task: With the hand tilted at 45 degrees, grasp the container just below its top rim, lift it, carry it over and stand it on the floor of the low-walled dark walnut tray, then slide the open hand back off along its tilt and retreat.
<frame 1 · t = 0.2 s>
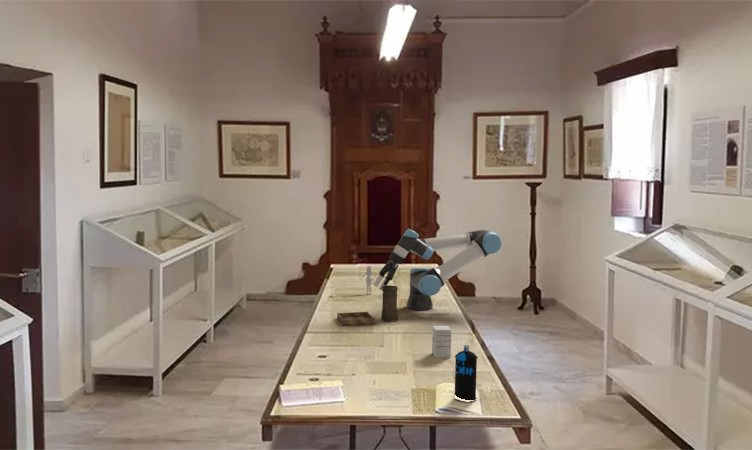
hand: (377, 287, 396), 15 cm above the table, tool tilted 35°, fingers open, 13 cm apart
container: (389, 320, 386), on the table
aerosol can: (465, 399, 266), on the table
walnut tray: (355, 321, 382), on the table
supplement box: (441, 355, 321), on the table
human figurine: (368, 294, 453), on the table
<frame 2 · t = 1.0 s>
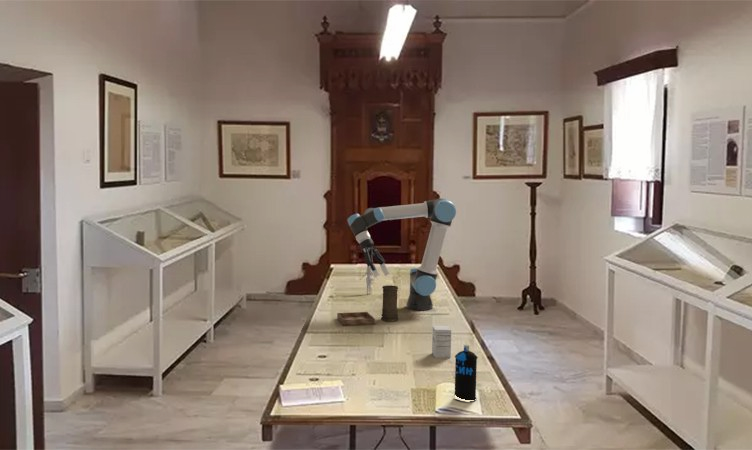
hand: (382, 275, 389), 23 cm above the table, tool tilted 35°, fingers open, 13 cm apart
nothing on the table moved.
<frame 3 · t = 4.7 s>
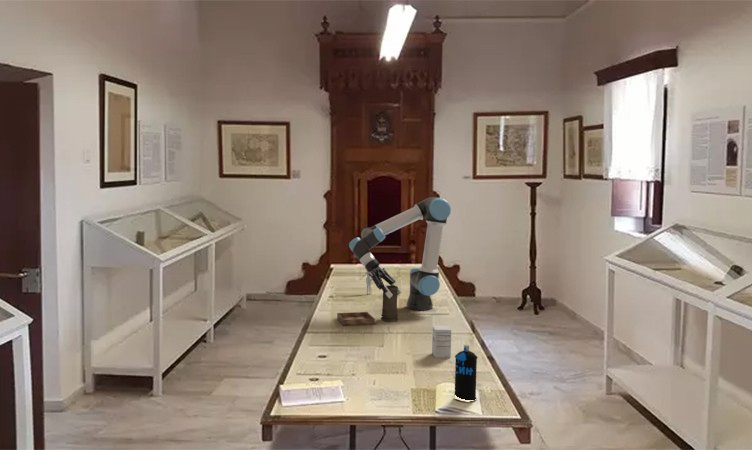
hand: (395, 295, 383), 14 cm above the table, tool tilted 45°, fingers closed on container, 8 cm apart
container: (389, 320, 386), on the table, touching gripper
everything else where it was.
when the fingers open (15 cm above the table, at t = 11.7 s): container stays where it is, resting on walnut tray.
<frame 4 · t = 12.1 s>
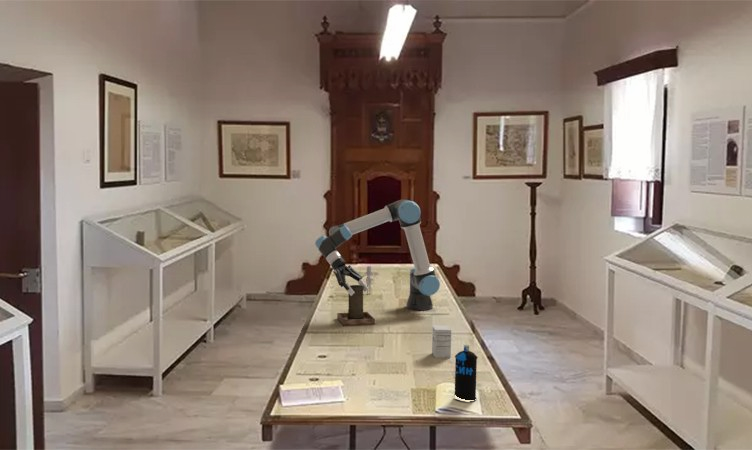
hand: (359, 292, 379), 16 cm above the table, tool tilted 45°, fingers open, 13 cm apart
container: (355, 320, 382), point 1 cm above the table, touching walnut tray
everything else where it was.
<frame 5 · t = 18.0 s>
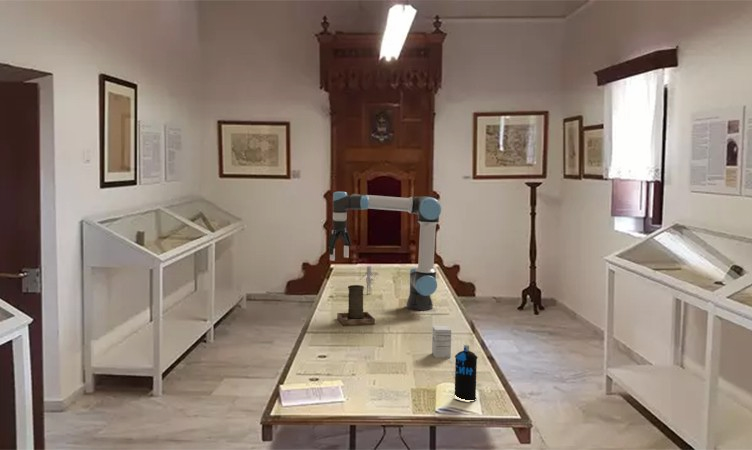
hand: (339, 259, 395), 31 cm above the table, tool pointing down, fingers open, 13 cm apart
nothing on the table moved.
at the end: container inside the target area on the walnut tray (0.1 cm from its centre), point 0.6 cm above the walnut tray's base; container tilted 0°; the gripper is holding nothing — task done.
